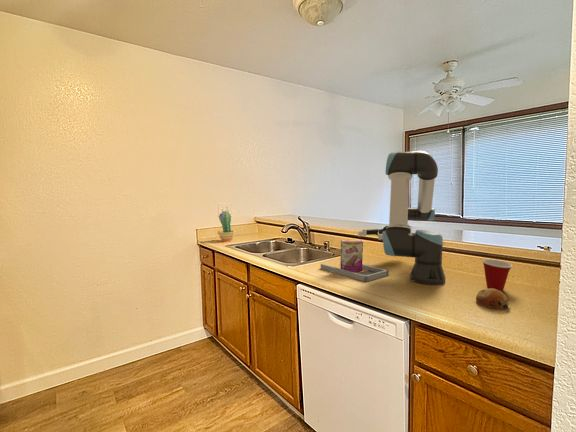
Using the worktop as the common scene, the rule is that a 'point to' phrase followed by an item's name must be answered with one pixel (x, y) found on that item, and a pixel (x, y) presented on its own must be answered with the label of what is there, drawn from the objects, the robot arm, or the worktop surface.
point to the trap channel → (365, 275)
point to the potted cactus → (226, 227)
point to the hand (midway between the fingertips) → (368, 235)
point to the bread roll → (492, 299)
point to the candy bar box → (351, 255)
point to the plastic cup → (496, 273)
